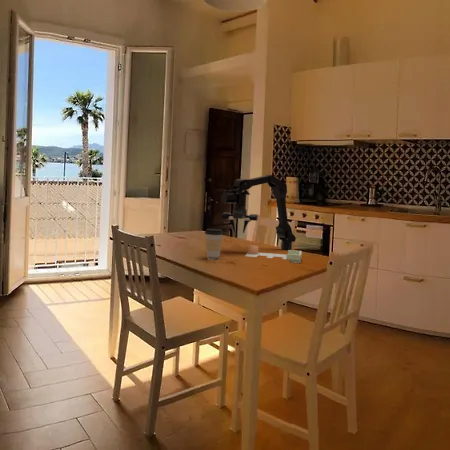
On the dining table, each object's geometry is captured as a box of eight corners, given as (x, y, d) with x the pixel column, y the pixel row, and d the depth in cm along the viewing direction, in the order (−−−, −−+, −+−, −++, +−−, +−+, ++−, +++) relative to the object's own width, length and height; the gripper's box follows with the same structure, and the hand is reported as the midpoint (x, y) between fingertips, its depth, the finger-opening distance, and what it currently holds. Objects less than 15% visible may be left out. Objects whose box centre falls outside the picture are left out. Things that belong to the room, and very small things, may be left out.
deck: (248, 254, 249) (248, 247, 249) (301, 258, 244) (301, 251, 243) (244, 258, 236) (245, 251, 236) (300, 263, 231) (300, 255, 231)
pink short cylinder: (249, 252, 247) (249, 244, 247) (258, 253, 246) (258, 245, 246) (247, 253, 242) (248, 246, 242) (257, 254, 242) (257, 247, 241)
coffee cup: (206, 261, 227) (207, 230, 225) (202, 257, 236) (203, 228, 234) (224, 260, 230) (226, 230, 228) (220, 257, 239) (221, 228, 237)
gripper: (219, 203, 237) (218, 233, 239) (256, 205, 233) (254, 236, 235) (224, 201, 248) (223, 230, 249) (258, 203, 244) (257, 233, 246)
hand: (239, 232), depth 245 cm, fingers open, 4 cm apart
